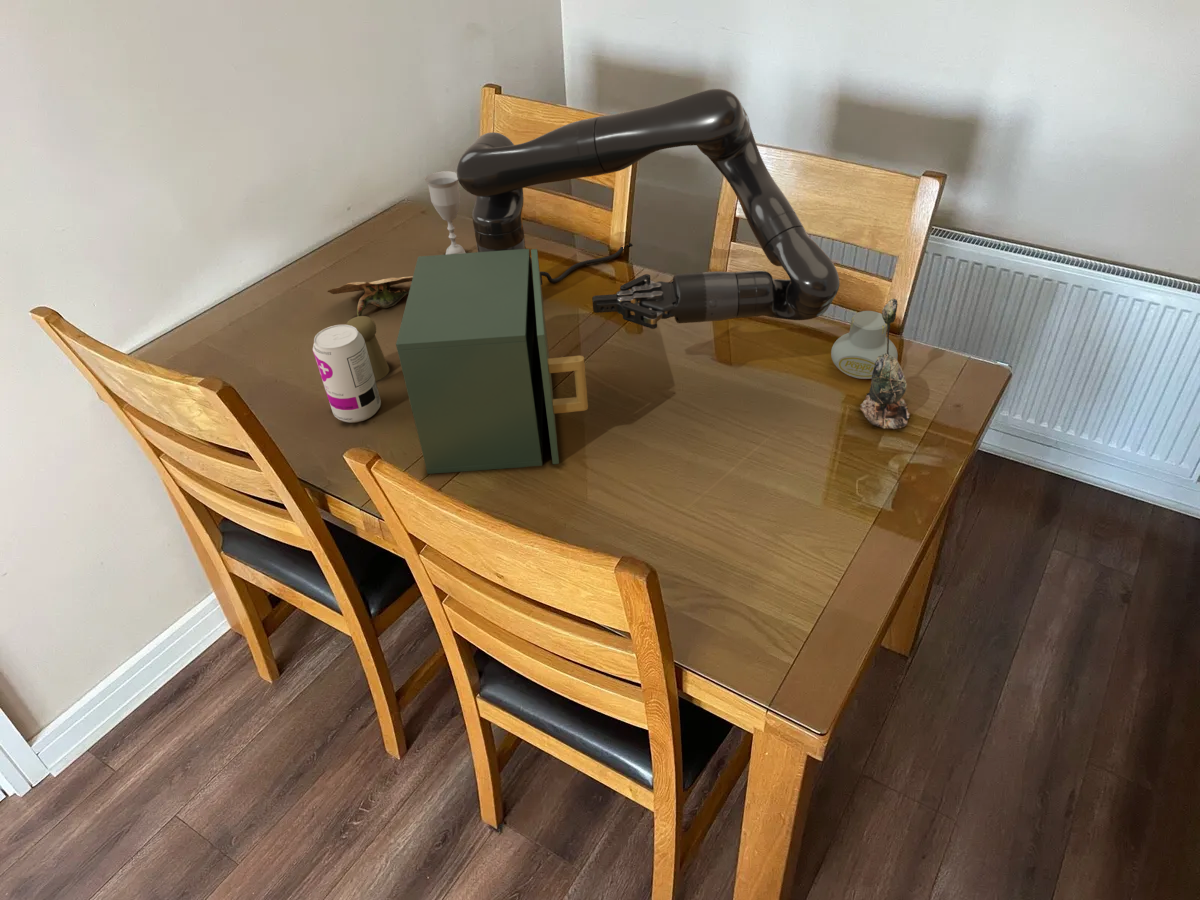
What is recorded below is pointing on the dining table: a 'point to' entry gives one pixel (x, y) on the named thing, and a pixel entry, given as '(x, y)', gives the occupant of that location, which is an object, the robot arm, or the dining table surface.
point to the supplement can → (346, 373)
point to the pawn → (371, 345)
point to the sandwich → (375, 292)
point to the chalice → (446, 202)
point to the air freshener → (862, 345)
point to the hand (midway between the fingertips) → (592, 304)
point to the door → (555, 367)
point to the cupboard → (474, 361)
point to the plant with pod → (887, 385)
